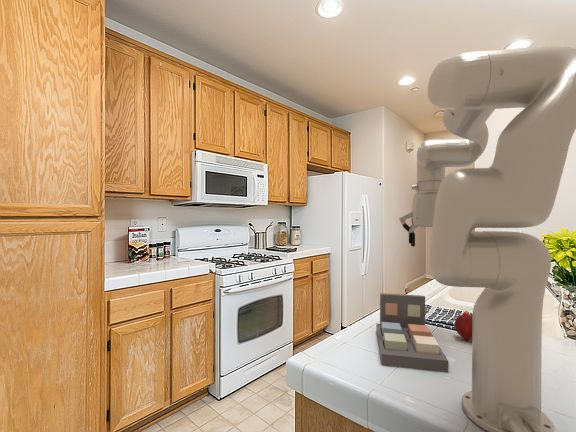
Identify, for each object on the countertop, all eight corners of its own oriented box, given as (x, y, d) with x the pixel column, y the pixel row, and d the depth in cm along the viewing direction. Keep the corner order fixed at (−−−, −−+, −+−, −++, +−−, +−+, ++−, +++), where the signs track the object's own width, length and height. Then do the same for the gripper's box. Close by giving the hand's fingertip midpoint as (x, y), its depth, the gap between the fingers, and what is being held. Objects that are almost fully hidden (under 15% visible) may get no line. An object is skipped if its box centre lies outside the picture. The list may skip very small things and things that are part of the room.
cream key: (439, 356, 69) (439, 345, 69) (416, 353, 70) (416, 343, 70) (434, 347, 74) (434, 337, 74) (413, 345, 75) (413, 335, 75)
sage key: (406, 352, 71) (406, 342, 71) (385, 350, 72) (385, 340, 72) (403, 344, 75) (403, 334, 75) (383, 342, 77) (383, 332, 77)
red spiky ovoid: (483, 344, 80) (484, 314, 80) (462, 344, 80) (462, 314, 80) (471, 335, 86) (471, 307, 86) (450, 335, 86) (450, 307, 86)
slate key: (401, 339, 79) (401, 329, 79) (382, 337, 80) (382, 328, 80) (399, 332, 83) (399, 323, 83) (381, 330, 84) (381, 321, 84)
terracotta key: (430, 341, 77) (431, 332, 77) (410, 340, 78) (410, 330, 78) (426, 334, 82) (426, 325, 82) (407, 332, 83) (407, 323, 83)
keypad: (448, 372, 66) (448, 319, 66) (381, 364, 69) (381, 314, 69) (427, 336, 85) (427, 295, 85) (376, 331, 89) (376, 292, 89)
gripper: (401, 187, 87) (400, 247, 87) (467, 186, 83) (467, 248, 83) (398, 190, 94) (397, 244, 94) (459, 189, 90) (458, 246, 90)
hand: (430, 246), depth 89 cm, fingers open, 9 cm apart
